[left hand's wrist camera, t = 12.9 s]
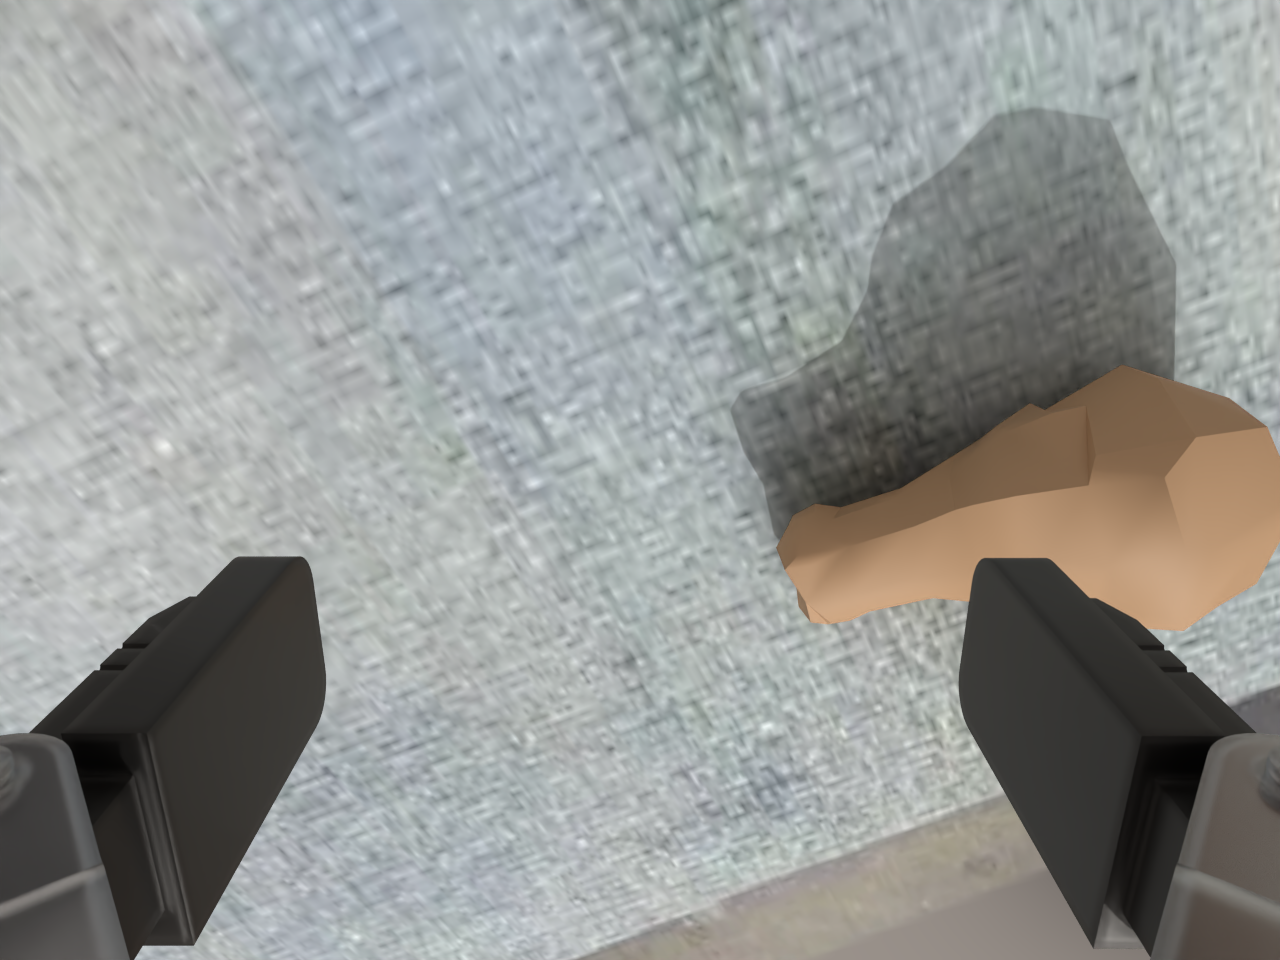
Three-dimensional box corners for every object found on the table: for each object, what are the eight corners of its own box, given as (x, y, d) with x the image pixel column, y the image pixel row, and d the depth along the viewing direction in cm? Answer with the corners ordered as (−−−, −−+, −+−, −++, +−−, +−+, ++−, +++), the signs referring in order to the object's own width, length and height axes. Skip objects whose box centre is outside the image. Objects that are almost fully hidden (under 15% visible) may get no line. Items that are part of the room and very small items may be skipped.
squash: (1229, 513, 42) (1343, 645, 35) (811, 612, 47) (831, 747, 40) (1219, 306, 37) (1351, 407, 30) (750, 441, 42) (760, 558, 34)
